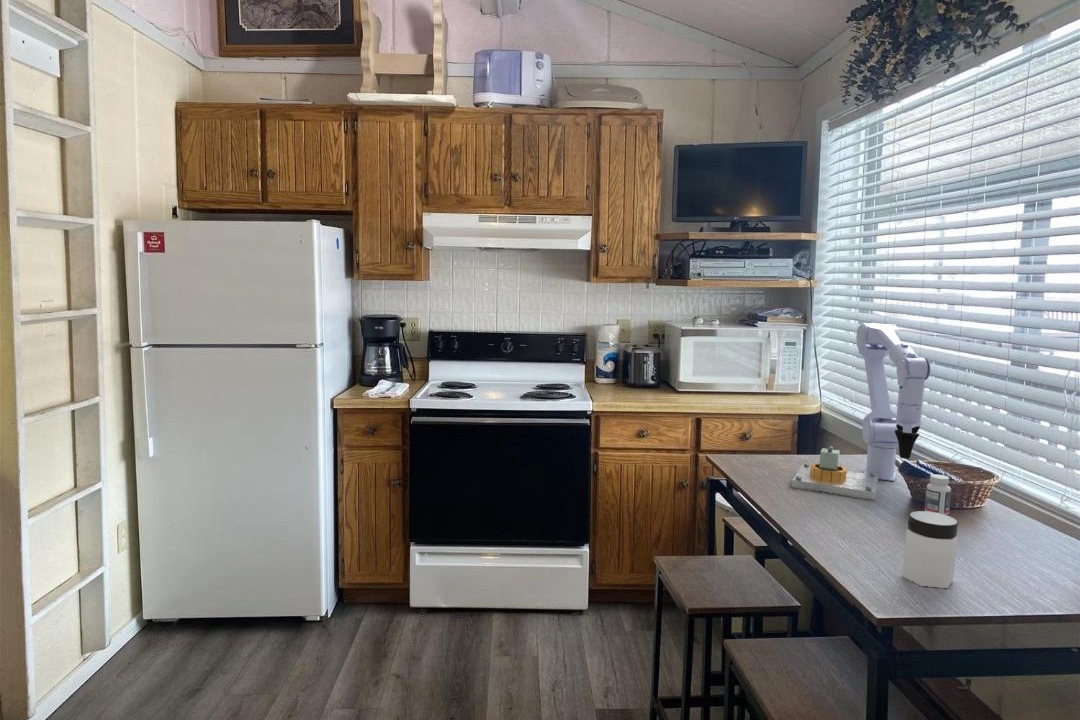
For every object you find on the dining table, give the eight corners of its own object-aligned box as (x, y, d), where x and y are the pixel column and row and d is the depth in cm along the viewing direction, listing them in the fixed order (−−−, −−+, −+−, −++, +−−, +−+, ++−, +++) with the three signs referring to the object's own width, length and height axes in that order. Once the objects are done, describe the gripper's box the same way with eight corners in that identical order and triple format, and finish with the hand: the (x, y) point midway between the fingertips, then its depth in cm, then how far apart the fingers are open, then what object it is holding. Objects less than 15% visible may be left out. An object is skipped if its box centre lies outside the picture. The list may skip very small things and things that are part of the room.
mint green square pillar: (820, 473, 205) (822, 443, 204) (837, 475, 203) (840, 446, 202) (818, 477, 201) (820, 447, 200) (836, 479, 199) (838, 449, 198)
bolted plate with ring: (801, 471, 214) (802, 455, 213) (877, 482, 205) (879, 466, 204) (791, 487, 198) (792, 470, 197) (873, 500, 189) (875, 482, 188)
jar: (909, 566, 147) (915, 507, 145) (956, 578, 142) (962, 517, 140) (897, 580, 140) (902, 518, 139) (945, 593, 135) (952, 529, 133)
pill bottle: (943, 509, 183) (946, 474, 182) (952, 516, 178) (956, 480, 177) (920, 508, 183) (924, 472, 182) (929, 515, 178) (933, 479, 177)
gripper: (893, 397, 202) (889, 447, 204) (891, 406, 189) (886, 458, 191) (923, 400, 199) (918, 450, 200) (922, 409, 186) (917, 462, 188)
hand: (905, 454), depth 195 cm, fingers open, 7 cm apart
